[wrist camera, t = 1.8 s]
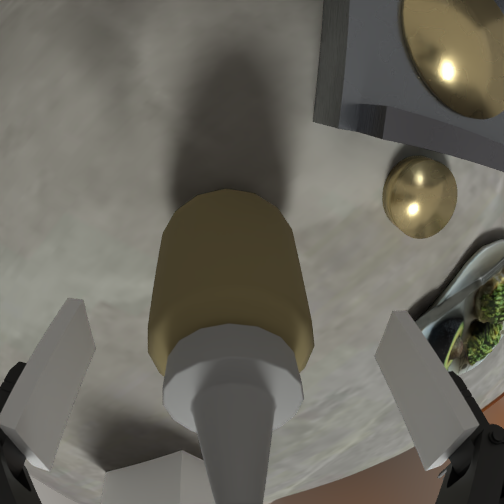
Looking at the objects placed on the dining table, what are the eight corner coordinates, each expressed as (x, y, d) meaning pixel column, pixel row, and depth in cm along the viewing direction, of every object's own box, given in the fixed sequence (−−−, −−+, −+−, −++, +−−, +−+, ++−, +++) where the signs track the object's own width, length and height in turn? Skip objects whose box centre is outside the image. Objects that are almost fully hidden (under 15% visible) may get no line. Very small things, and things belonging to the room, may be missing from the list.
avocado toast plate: (497, 182, 22) (531, 198, 18) (545, 262, 27) (566, 280, 23) (379, 340, 29) (397, 372, 25) (457, 373, 34) (472, 397, 30)
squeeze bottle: (225, 148, 20) (225, 374, 4) (308, 229, 23) (433, 467, 7) (147, 234, 22) (45, 483, 6) (230, 299, 25) (243, 541, 9)
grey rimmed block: (312, 121, 19) (361, 135, 12) (327, -65, 13) (369, -119, 6) (484, 161, 21) (551, 190, 14) (494, 8, 14) (558, 2, 7)
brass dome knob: (374, 225, 23) (385, 236, 21) (388, 148, 21) (402, 153, 19) (433, 230, 24) (445, 240, 22) (449, 162, 21) (464, 168, 19)
